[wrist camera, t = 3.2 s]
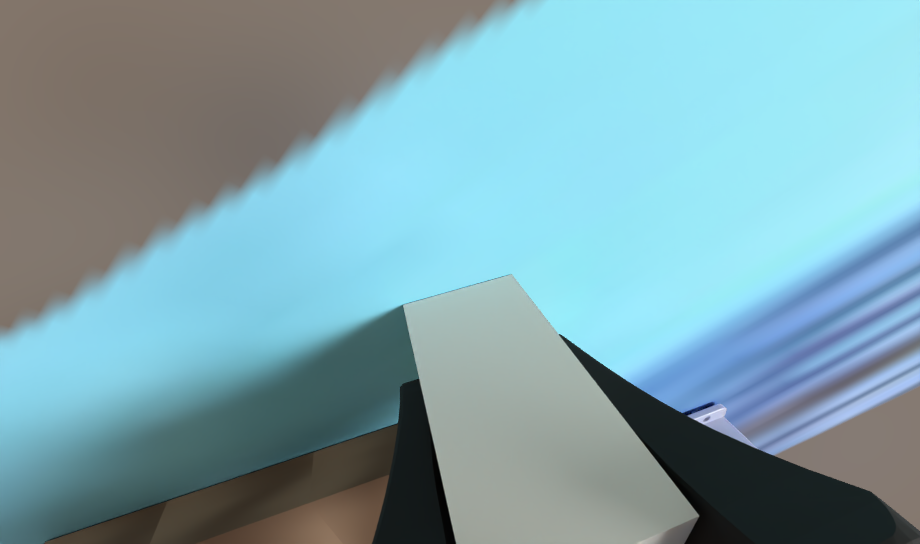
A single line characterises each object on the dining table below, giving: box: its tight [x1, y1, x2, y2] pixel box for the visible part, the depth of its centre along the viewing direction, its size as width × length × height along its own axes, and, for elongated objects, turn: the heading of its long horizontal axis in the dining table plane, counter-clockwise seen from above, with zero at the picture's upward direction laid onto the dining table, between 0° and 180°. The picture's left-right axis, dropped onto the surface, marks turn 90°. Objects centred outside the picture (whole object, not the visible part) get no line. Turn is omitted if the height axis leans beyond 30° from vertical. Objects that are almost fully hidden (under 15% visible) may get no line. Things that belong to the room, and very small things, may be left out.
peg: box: [403, 274, 699, 544], centre depth 10 cm, size 4×4×8 cm
